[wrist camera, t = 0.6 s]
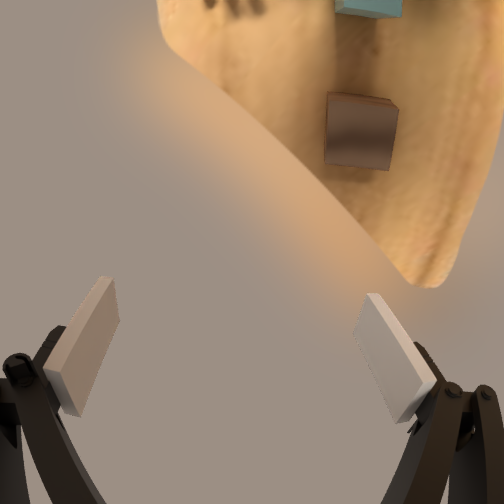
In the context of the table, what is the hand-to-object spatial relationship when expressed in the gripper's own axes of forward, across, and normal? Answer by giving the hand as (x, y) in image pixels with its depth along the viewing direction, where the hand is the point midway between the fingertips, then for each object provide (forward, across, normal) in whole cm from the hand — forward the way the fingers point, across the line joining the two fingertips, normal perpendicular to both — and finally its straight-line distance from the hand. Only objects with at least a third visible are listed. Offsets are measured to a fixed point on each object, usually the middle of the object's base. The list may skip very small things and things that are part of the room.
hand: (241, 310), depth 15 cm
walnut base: (+26, +14, +11) cm, 31 cm away
